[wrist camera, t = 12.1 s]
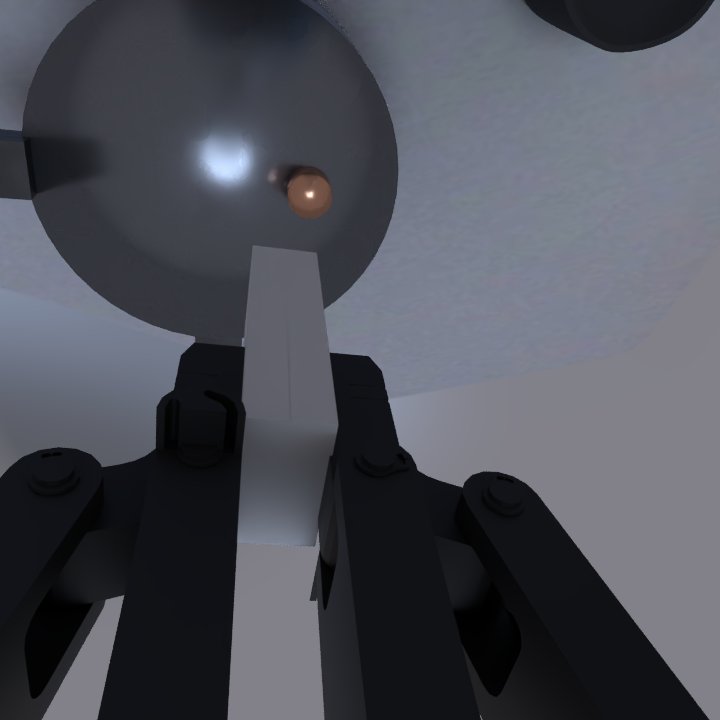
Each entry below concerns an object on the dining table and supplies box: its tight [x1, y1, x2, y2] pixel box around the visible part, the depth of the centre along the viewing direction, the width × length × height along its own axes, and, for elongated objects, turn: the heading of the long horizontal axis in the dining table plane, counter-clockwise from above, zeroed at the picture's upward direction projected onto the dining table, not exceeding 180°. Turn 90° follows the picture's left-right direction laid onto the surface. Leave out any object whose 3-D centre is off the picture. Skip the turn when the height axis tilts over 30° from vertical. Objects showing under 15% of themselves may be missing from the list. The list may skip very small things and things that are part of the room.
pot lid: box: [0, 0, 398, 339], centre depth 37 cm, size 20×24×3 cm
